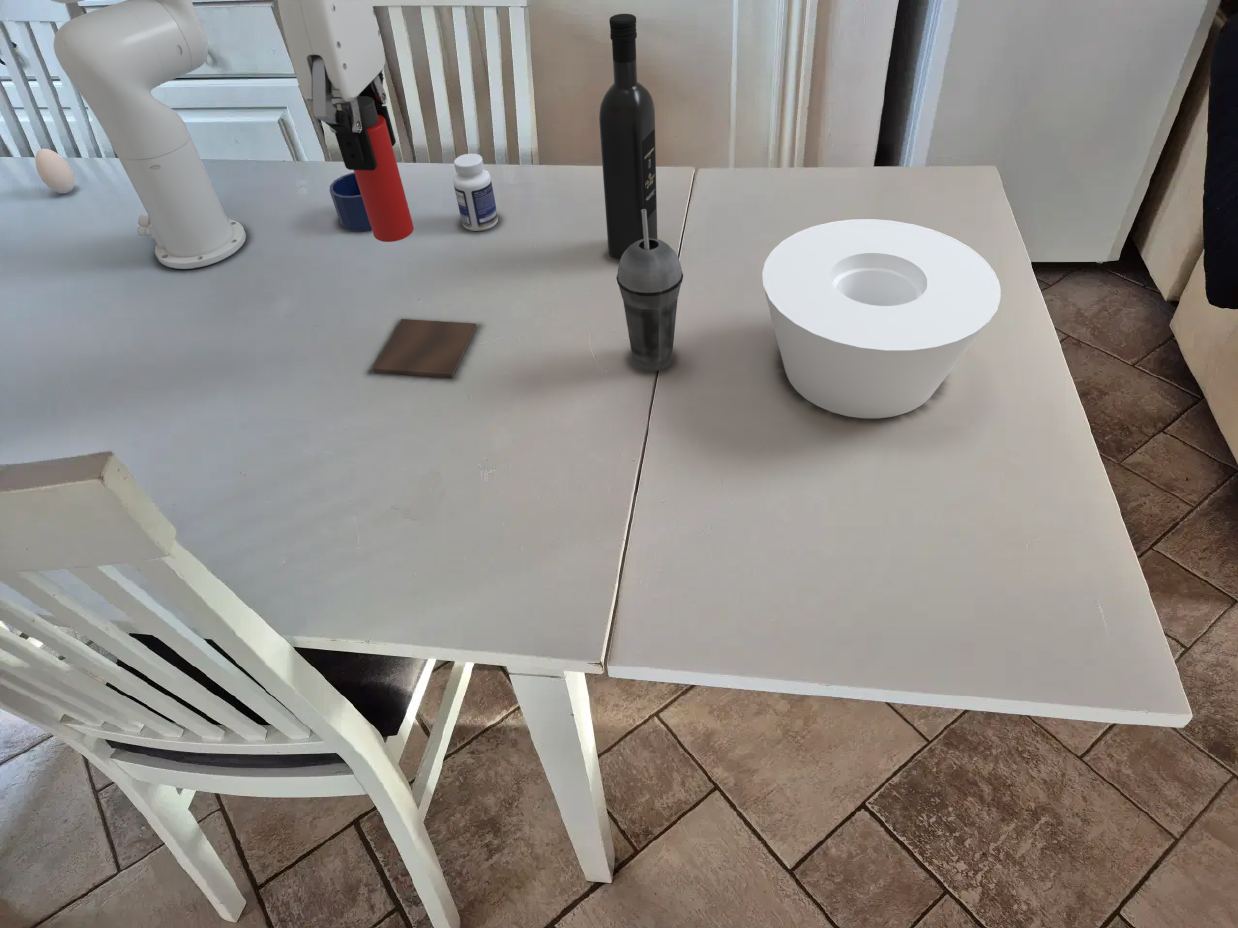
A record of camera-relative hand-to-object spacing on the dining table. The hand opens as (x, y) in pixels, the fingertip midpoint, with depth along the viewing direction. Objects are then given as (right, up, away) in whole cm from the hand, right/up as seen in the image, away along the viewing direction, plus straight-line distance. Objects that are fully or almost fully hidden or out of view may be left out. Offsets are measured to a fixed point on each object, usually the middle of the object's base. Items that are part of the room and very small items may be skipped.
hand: (371, 155), depth 83 cm
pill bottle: (+5, +4, +38) cm, 39 cm away
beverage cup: (+29, -19, +14) cm, 38 cm away
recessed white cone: (+53, -21, +11) cm, 58 cm away
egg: (-66, +13, +52) cm, 86 cm away
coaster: (+2, -17, +17) cm, 25 cm away
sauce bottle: (+1, -6, +6) cm, 9 cm away
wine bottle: (+27, -2, +30) cm, 41 cm away
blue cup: (-13, +6, +41) cm, 43 cm away
